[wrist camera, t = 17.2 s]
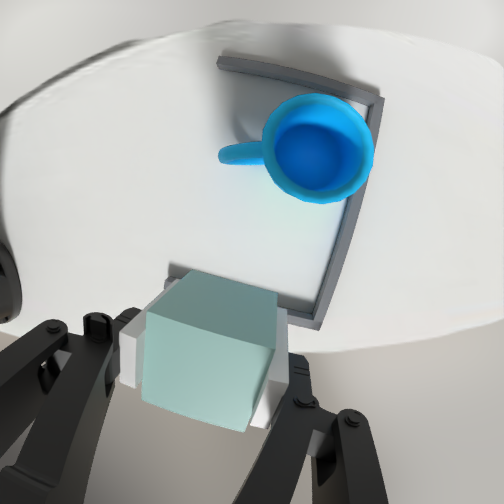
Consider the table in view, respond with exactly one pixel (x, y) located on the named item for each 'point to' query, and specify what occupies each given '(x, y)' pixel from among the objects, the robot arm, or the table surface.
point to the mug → (311, 149)
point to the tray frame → (354, 200)
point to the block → (209, 349)
